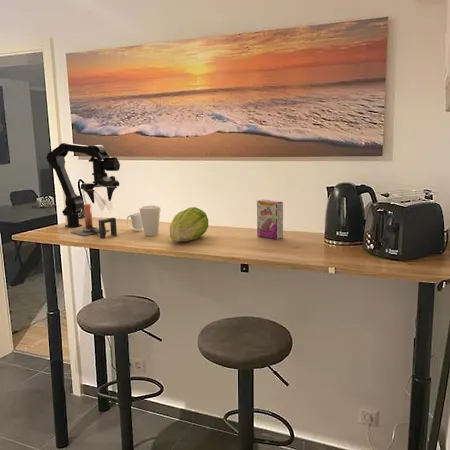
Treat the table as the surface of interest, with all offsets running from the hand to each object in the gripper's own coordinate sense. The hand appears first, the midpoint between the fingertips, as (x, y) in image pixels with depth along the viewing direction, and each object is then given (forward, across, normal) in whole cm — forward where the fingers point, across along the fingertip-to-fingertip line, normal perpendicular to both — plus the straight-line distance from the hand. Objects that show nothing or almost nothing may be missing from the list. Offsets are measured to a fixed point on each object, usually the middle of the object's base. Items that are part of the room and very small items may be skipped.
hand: (101, 202), depth 243 cm
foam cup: (+13, +6, -32) cm, 35 cm away
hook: (+13, -10, -9) cm, 18 cm away
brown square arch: (+13, -10, -20) cm, 26 cm away
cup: (+13, +7, -18) cm, 23 cm away
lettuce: (+13, +9, -54) cm, 56 cm away
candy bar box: (+13, +36, -79) cm, 88 cm away
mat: (+13, -10, -4) cm, 17 cm away
